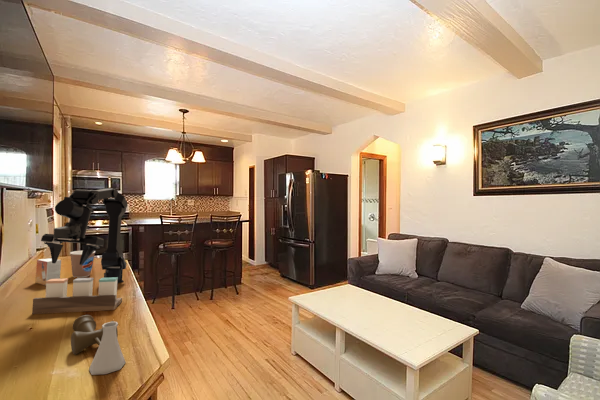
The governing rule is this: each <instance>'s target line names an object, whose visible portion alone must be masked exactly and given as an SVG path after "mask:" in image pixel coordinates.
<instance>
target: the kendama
mask: <svg viewBox="0 0 600 400" xmlns="http://www.w3.org/2000/svg"><path fill="white" fill-rule="evenodd" d="M110 322H115V320H111V321H110ZM96 328H97V322H96V320H95V318H94V316H92V315H90V314H85V315H81V316H78V317H77V318H75V320H74V321H73V323H72V330H73V332H72V334H71V337H70V338H71V339H70V347H71V351H72V354H73V355H76V356H77V355H78V354H80V353H81V352H82V351H84V350H85V349H87V348H89V347H91V346H94V345H98V346H99V345H100V343H101V340H102V336H103V328H102V327H101V328H100V329H96ZM118 332H119V331H118V327H117V328H116V334H117V338H118Z"/></svg>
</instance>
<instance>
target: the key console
mask: <svg viewBox="0 0 600 400" xmlns="http://www.w3.org/2000/svg"><path fill="white" fill-rule="evenodd" d="M122 302H123V297H117V296H116V295H92V296H73V295H72V296H67V297H47V298H45V297H34V298H33V299H32V308H31V310H32V312H31V313H32V315H37V314H38V315H40V314H42V315H43V314H56V313H59V314H61V313H77V312H79V313H80V312H96V311H97V312H98V311H113V310H114V311H115V309H116V308H117V307H119V306H120V304H121V303H122Z"/></svg>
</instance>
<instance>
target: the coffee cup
mask: <svg viewBox="0 0 600 400" xmlns="http://www.w3.org/2000/svg"><path fill="white" fill-rule="evenodd" d="M82 252H83V250H74V251H70V252H69V254H70V263H71V265H70V266H71V274H72V277H73V278H75V277H77V278H88V277H90V276H91V273H92V270H93V264H94V259H95V253H96V250H95V251H94V252H93V253H92V254H91V255H90V256H89V257H88V258H87V260H86V261H85V262H84V263H83V264H82V265H80V259H81V255H82ZM77 278H76V279H77Z"/></svg>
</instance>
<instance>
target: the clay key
mask: <svg viewBox="0 0 600 400" xmlns="http://www.w3.org/2000/svg"><path fill="white" fill-rule="evenodd" d="M68 281H69V278H66V277H65V278H60V279H50V280H47V281H46V285H45V297H44V298H47V297H68V295H67V294H68Z"/></svg>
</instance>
